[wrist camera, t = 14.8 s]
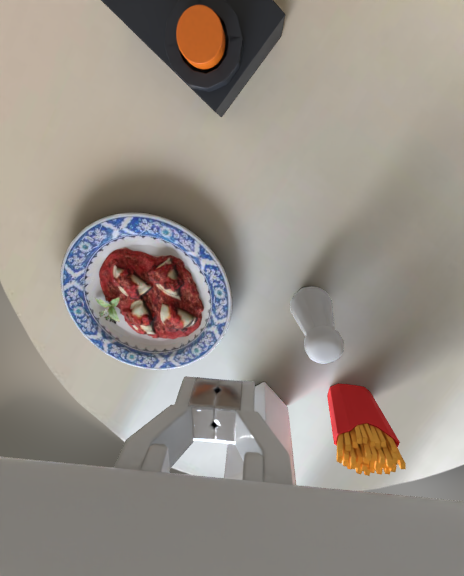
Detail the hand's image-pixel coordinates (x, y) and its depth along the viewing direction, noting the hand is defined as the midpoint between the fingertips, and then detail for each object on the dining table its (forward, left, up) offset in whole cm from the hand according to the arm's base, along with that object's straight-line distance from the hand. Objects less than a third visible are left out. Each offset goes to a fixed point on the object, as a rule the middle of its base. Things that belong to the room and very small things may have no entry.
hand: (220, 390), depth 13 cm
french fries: (+10, +32, -31) cm, 46 cm away
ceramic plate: (+18, -4, -31) cm, 36 cm away
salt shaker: (+2, +14, -31) cm, 34 cm away
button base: (-12, -18, -31) cm, 38 cm away
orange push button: (-11, -15, -24) cm, 30 cm away
